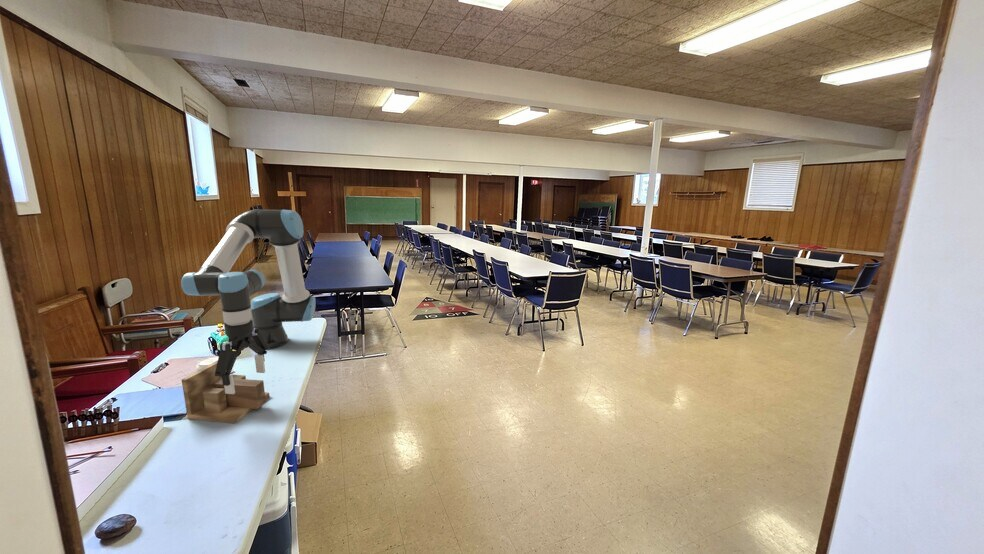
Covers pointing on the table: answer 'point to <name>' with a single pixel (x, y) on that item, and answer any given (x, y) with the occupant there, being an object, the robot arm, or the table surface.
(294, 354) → the table surface
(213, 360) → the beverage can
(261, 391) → the rail
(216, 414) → the wooden step bracket
